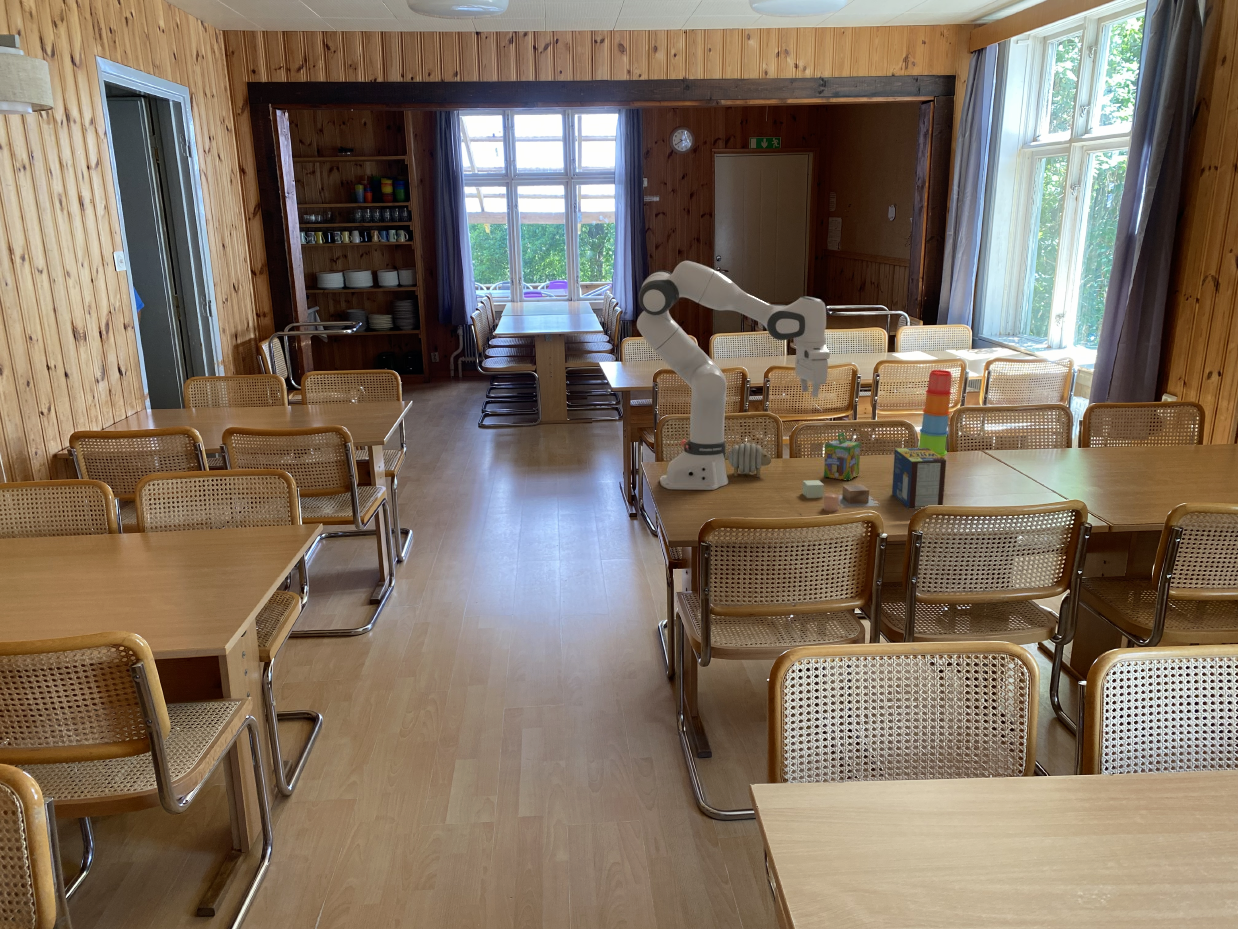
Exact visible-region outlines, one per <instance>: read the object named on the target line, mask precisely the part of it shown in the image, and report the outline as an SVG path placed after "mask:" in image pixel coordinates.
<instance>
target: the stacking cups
mask: <svg viewBox="0 0 1238 929" xmlns="http://www.w3.org/2000/svg"><path fill="white" fill-rule="evenodd" d="M952 376H953V374H952V372H951V371H949V370H944V369H943V370H942V369H934V370H933V369H932V370H931V371H930V372H929V376H928V382H927V383H928V384H927V390H925V393H926V397H925V403H924V404H925V405H924V409H922V413H923V416H922V422H921V428H920V429H919V433H920V434H919V442H918V447H917V448H929V449H930V450H932V451H933V452H935V453H936V454H938V455H939V456H941V457H942V458H944V459H945V457H946V455H947V454H948V452H947V450H946V447H947V446H946V445H947V435H948V434H949V430H948V425H949V423H948V422H949V415H950V414H951V412H950V411H949V410H950V401H951V395H952V391H951V387H952V386H951V385H952V378H953V377H952Z"/></svg>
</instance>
